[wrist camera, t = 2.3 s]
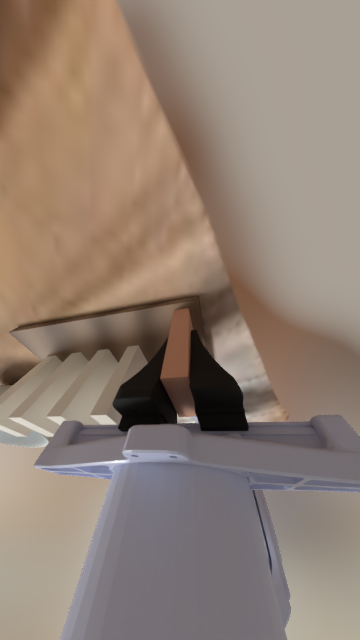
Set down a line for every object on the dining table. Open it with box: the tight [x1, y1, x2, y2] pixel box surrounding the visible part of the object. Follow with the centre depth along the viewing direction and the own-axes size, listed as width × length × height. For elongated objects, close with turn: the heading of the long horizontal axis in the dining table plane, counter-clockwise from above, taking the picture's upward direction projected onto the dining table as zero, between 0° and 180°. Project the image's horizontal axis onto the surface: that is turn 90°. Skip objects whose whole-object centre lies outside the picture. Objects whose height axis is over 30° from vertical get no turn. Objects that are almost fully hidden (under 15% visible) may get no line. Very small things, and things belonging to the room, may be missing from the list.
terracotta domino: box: [160, 308, 197, 417], centre depth 12 cm, size 2×5×8 cm, turn 12°
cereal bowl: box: [0, 385, 52, 447], centre depth 26 cm, size 17×17×7 cm
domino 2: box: [8, 352, 89, 437], centre depth 17 cm, size 2×5×8 cm, turn 12°
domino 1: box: [0, 355, 63, 437], centre depth 17 cm, size 2×5×8 cm, turn 12°
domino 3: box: [46, 349, 118, 425], centre depth 16 cm, size 2×5×8 cm, turn 12°
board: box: [9, 296, 206, 363], centre depth 19 cm, size 26×11×1 cm, turn 102°
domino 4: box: [89, 345, 148, 425], centre depth 15 cm, size 2×5×8 cm, turn 12°
